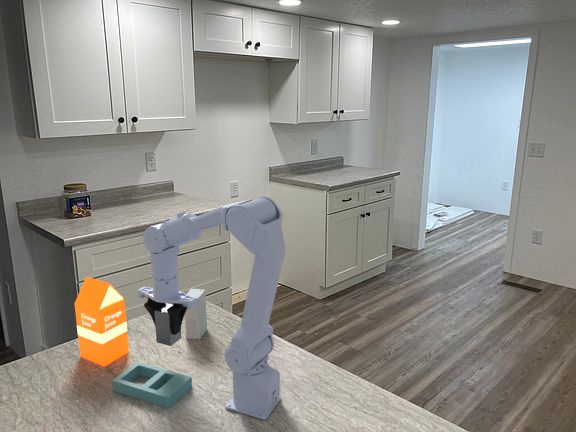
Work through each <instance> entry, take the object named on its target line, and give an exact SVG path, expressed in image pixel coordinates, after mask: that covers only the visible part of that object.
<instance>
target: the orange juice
mask: <svg viewBox="0 0 576 432" xmlns="http://www.w3.org/2000/svg"><path fill="white" fill-rule="evenodd" d="M74 310H75V321H76V329H77V331H76V332H77V337H78V345H79V354H80V355H79V356H80V357H81V358H83V359H85V360H88V361H90V362H91V363H95V364H97V365H99V366H102V367H106V366H108V365H110V364H112V363H113V362H114V361H116V360H118V359H120V358H122V357H123V356H125V355H127V354H128V353H130V351H129V350H130V349H129V339H128V338H129V337H128V324H127V322H128V321H127V316H126V305H125V298H124V297H123V295H121V294H120V293H119V292H118V291H117V290H116V289H115V288H114V286H112V285H111V283H109V282H106V281H102V280H99V279H95V278H92V277H88V276H85V278H84V281H83V283H82V284H81V288H80V291H79V293H78V295H77V297H76V299H75V302H74Z"/></svg>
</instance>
